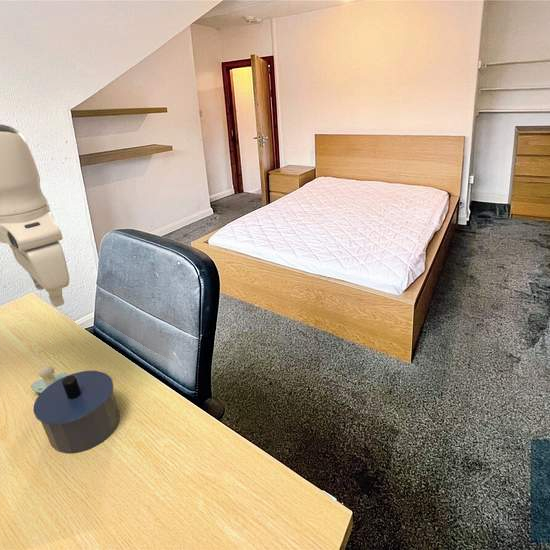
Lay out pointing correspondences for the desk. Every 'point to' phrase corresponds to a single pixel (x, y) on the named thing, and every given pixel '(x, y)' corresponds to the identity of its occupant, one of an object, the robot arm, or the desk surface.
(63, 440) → the pot
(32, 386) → the pacifier
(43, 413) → the lid
